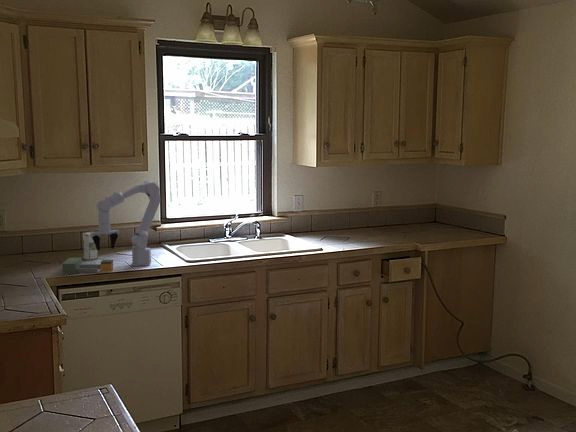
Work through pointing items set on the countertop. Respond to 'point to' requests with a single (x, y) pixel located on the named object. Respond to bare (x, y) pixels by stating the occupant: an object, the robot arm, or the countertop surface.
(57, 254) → the countertop surface
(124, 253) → the countertop surface
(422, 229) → the countertop surface
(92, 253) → the syrup box
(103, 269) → the orange-topped grey cube
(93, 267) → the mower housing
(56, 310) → the countertop surface
